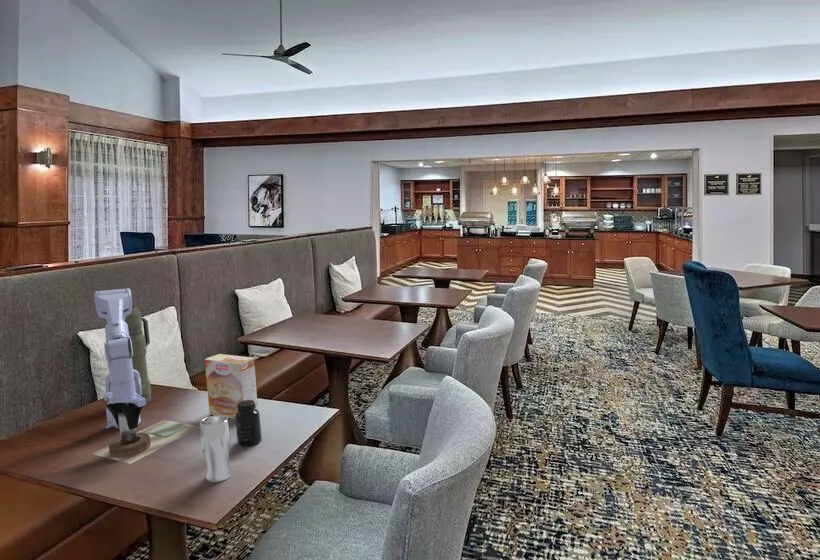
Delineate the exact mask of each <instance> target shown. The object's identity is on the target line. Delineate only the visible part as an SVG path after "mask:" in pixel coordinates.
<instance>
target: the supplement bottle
mask: <svg viewBox="0 0 820 560" xmlns="http://www.w3.org/2000/svg"><path fill="white" fill-rule="evenodd" d="M255 408H256V407H255V402H254V401H253V400H245V401H241V402H239V403H238V411H239V412H237V413H236V415H235V419H234V421H235V430H236V431H235V432H236V441H237V444H238V445H239V446H240V447H244V448H245V447H246V448H247V447H248V448H249V447H252V446H255V445H258V444H259V443H260V442H262V437H263V436H262V429H261V427H262V426H261V416H260V415H261V414H260V411H259V409H258V410H257V409H255Z"/></svg>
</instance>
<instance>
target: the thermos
mask: <svg viewBox="0 0 820 560" xmlns="http://www.w3.org/2000/svg"><path fill="white" fill-rule="evenodd" d="M125 322H126V323H127V325H128V331H129V335H130V338H131V341H132V349H133V357H132V354H131V353H130V354H129V356H131V357H132V365H133V369H134V370H136V371H138V373H139V374H140V378H141V386H142V394H141V397H143V398H145V399H146V404H148V403H151V402H152V386H151V381H150V380H149V375H148V367H147V366H148V365H147V356H146V355H147V346H149V344H151V343H150V341H151V340H150V333H149V331H150V329H149V324H148V323H149V322H148V320H147V318H144V317H142V314H141V311H140V310H139V307H138V306H135V305H132V311H131V314H129V315H127V316H126V317H125ZM136 380H137V379H136Z"/></svg>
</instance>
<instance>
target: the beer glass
mask: <svg viewBox="0 0 820 560" xmlns="http://www.w3.org/2000/svg"><path fill="white" fill-rule="evenodd" d="M199 427H200V428H199V435H200V436H199V439H200V445H201V449H202V453H203V457H204V459H205V462H206V474H205V480H206V481H207V482H208V483H221V482H224V481H226V480H228V479H229V478H230V477H231V476H232V475H233V473H232V469H231V465H230V449H231V448H230V446H231V432H230V431H231V429H230V424H229V418H228V417H227V416H224V415H215V416H210V415H209V416H207V417H205V418H203V419H201V420H200V421H199Z"/></svg>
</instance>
